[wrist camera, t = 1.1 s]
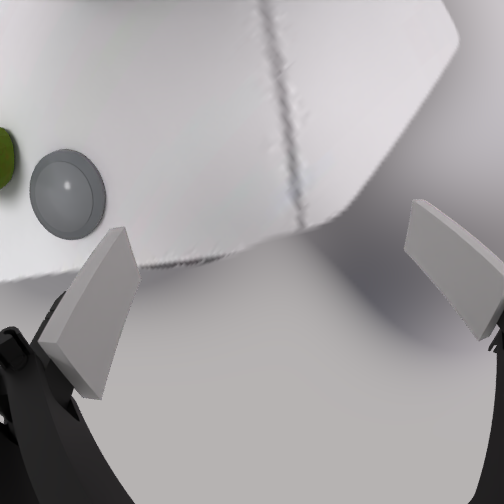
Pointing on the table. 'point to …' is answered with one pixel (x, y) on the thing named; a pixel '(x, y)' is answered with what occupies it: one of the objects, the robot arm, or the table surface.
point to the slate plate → (67, 194)
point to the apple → (6, 158)
